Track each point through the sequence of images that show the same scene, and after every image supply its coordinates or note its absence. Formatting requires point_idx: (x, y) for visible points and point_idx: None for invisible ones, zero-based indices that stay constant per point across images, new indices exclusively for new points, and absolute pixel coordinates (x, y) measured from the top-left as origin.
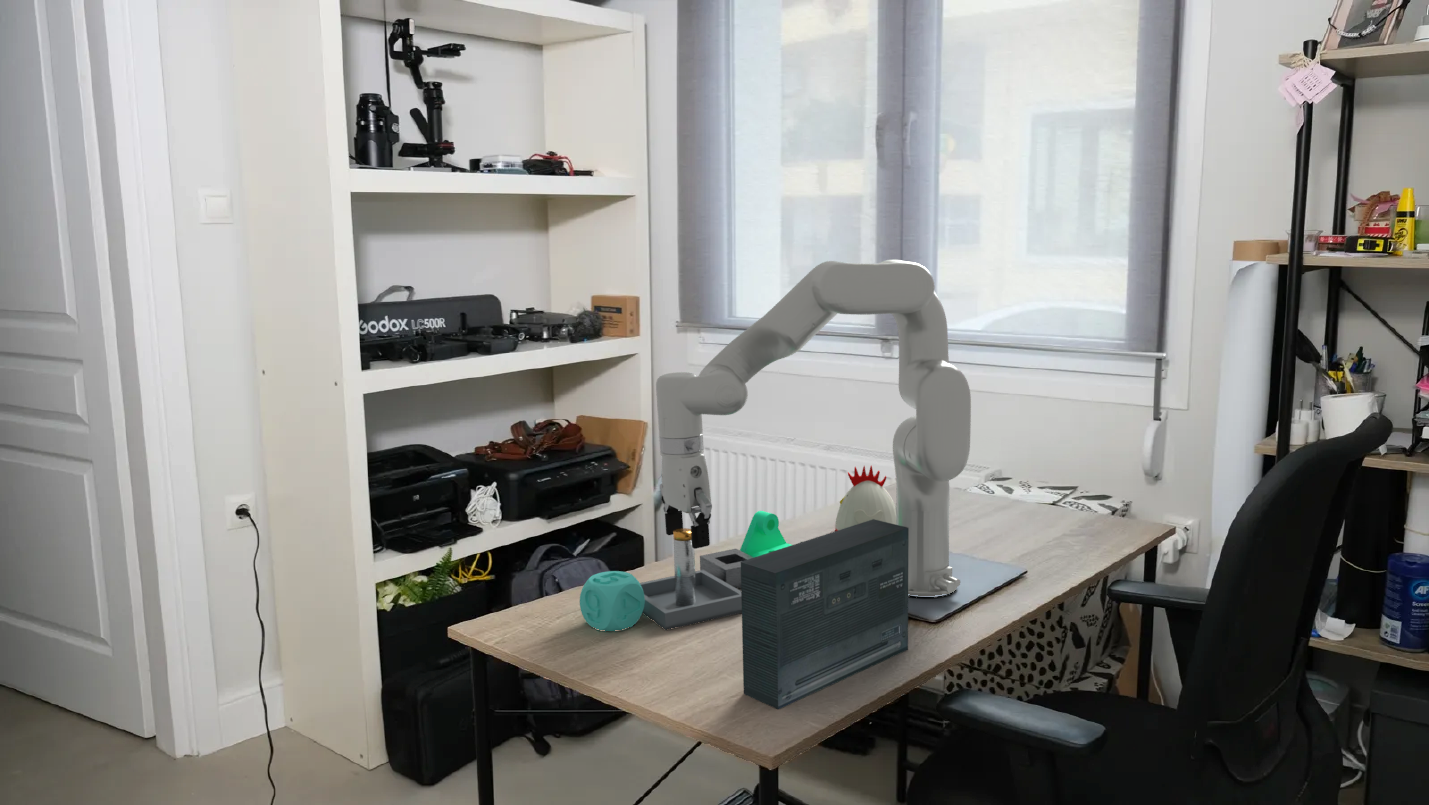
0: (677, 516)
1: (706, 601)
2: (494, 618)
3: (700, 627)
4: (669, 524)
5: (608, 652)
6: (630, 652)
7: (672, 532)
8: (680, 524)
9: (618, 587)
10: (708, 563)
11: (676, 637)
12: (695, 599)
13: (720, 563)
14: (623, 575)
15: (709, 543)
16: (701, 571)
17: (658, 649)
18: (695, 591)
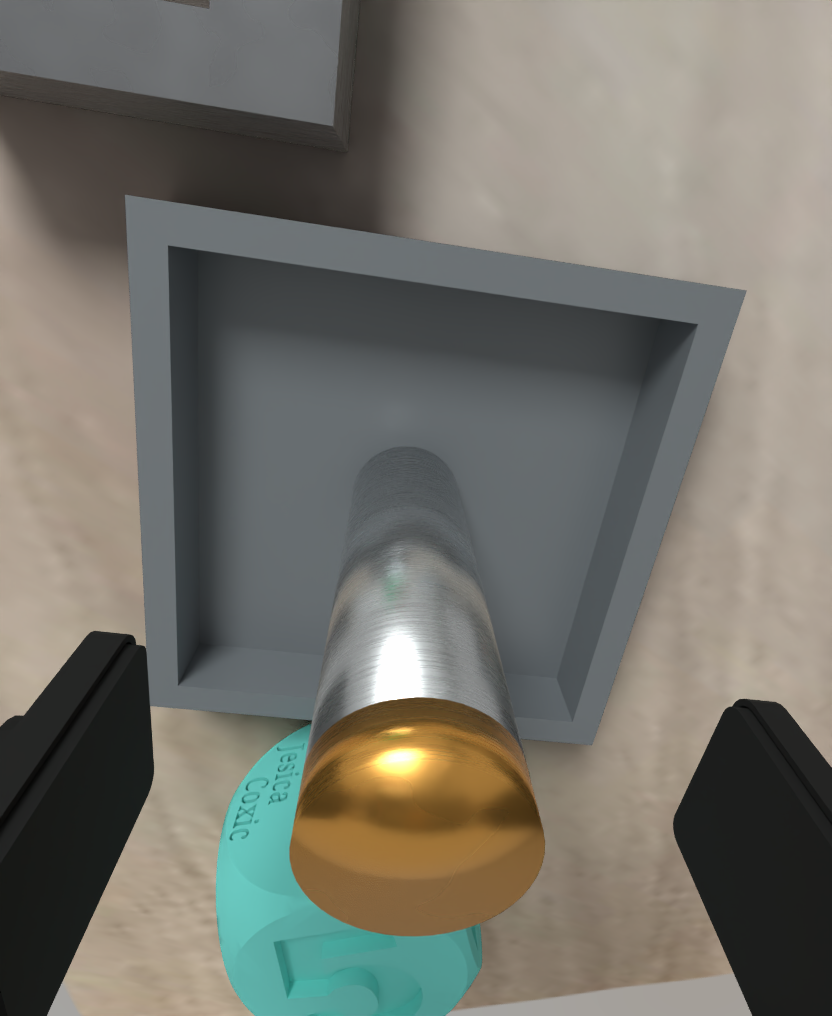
0: (37, 893)
1: (459, 402)
2: (84, 983)
3: (653, 579)
4: (95, 881)
5: (573, 881)
6: (627, 843)
7: (142, 760)
8: (97, 738)
9: (469, 985)
10: (37, 80)
11: (652, 693)
12: (450, 474)
13: (157, 40)
14: (342, 926)
15: (781, 708)
16: (153, 232)
17: (681, 780)
18: (448, 485)
